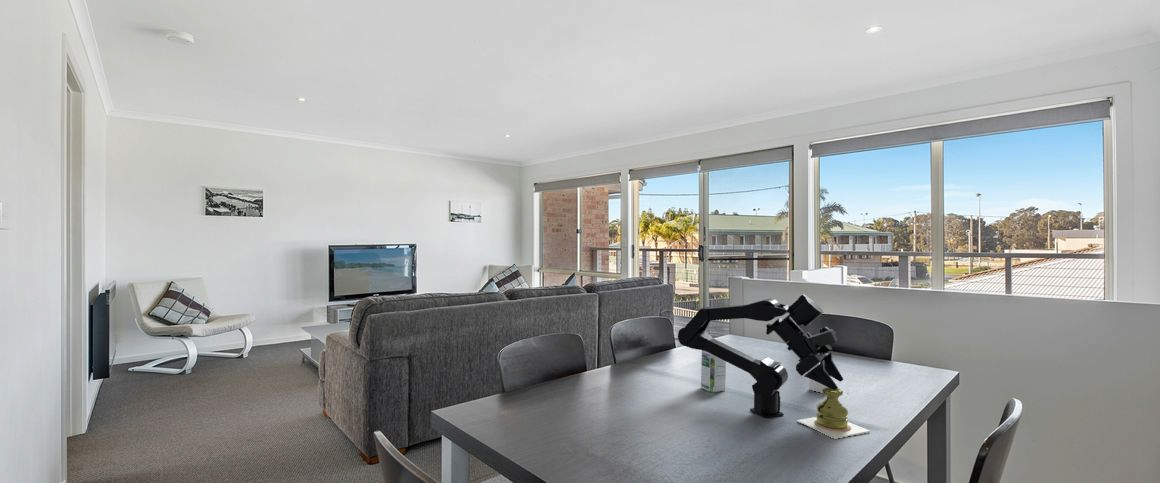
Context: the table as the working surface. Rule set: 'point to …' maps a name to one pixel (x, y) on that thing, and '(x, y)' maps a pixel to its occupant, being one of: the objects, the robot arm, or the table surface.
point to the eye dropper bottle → (815, 386)
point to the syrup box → (712, 373)
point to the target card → (834, 433)
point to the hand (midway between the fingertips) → (839, 384)
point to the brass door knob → (832, 410)
